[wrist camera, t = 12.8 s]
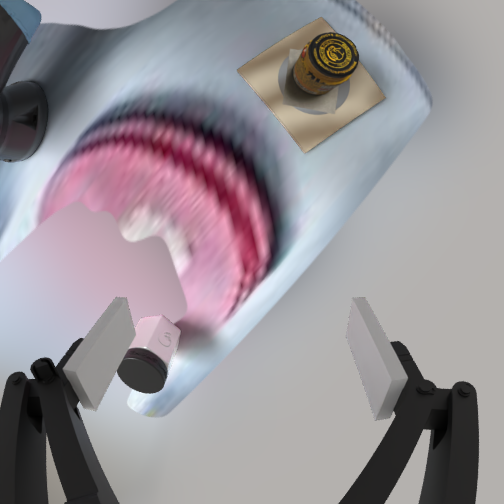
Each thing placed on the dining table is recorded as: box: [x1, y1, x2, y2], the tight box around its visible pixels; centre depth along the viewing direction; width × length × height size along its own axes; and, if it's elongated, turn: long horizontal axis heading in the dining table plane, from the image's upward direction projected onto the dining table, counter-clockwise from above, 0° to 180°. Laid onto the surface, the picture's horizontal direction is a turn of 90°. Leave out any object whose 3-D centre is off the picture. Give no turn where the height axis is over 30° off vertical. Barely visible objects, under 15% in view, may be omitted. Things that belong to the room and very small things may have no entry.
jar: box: [117, 315, 181, 394], centre depth 47 cm, size 9×8×12 cm
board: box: [237, 17, 386, 153], centre depth 36 cm, size 15×15×1 cm
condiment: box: [282, 32, 359, 114], centre depth 30 cm, size 7×8×12 cm
